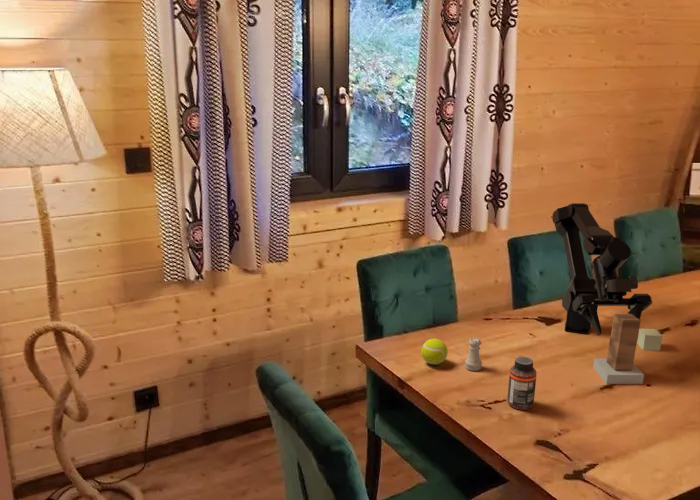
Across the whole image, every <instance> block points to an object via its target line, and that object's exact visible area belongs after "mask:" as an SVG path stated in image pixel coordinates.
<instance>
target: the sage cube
mask: <svg viewBox="0 0 700 500" xmlns="http://www.w3.org/2000/svg"><path fill="white" fill-rule="evenodd" d="M662 339H663V335H662V333H661V332H659V330H658V329H656V328H639V332H638V338H637V345H638V346H639V348H640V349H641V350H642V351H654V352H655V351H656V352H657V351H661V345H662Z"/></svg>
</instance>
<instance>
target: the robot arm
mask: <svg viewBox="0 0 700 500" xmlns="http://www.w3.org/2000/svg"><path fill="white" fill-rule="evenodd" d="M551 218H552V222H553V224H554V228H555V230H556V232H557V233H558V234H559V235H560V236H561V237H562V239H563V244H564V251H565V254H566V260H567V265H568V271H569V275H570V277H569V278H570V283H569V285H568V287H567V288H566V294H565V295H564V296H563V297H562V298H561V299H562V300H561V305H562V306H561V307H563V310H565V311H566V319H565V322H564V331H565V332H569V333H575V334H585V335H589V331H591V327H593V329H594V330H595V332H596V333H597V334H598V335H602V326H601V322H600V318H599V315H598V308H599V307H614V306H615V307H627V309H628V310H629V311H628V312H627V314H632V315H634V316H635V317H636V318H638V319H639V320H640V321H641V316H642V313H643V311H646V309H648V308H649V307H650V306H651V305H653V299H652V296H651V295H650V294H649V293H634V294H633V295H632V296H631V297H628V298H627V297H626V296H627V294H628V293H632V290H637V289H638V288H639V281H638V279H637V276H636V275H633V276H632V275H629V276H626V279H624V278H622V276H620V275H619V274H618V269H620V268H621V267H622V266H623V265H624V264H625V262H626V261H627V260H628V259H629V258H630V257H631V253H632V250H631V247H629V245H628V244H627V243H626V242H624V241H622V240H621V237H620V236H614V235H613V234H612V233H611V232H610V231H609V230H607V229H605V228H602V227H601V226H600V225H599V223H598V222H597V220H596V219H595V217H594V216H593V214H592V213H591V211H590V210H589V204H586V203H583V202H577V203H575V202H573V203H570V204H568V205H565V206H562V207H557V208H556V209H555V210H554V211H553V212H552V216H551ZM580 233H581V235H582V237H583V238H584V239H583V243H582V240H581V235H580ZM584 251H585V253H586V254H587V255H588V256H596V257H595V258H593V261H592V262H591V264H590V269H592V271H593V276H594V278H590V277H589V275H588V270H587V266H586V260H585V254H584ZM624 297H625V298H624Z"/></svg>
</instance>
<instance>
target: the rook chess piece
mask: <svg viewBox="0 0 700 500" xmlns="http://www.w3.org/2000/svg"><path fill="white" fill-rule="evenodd" d="M468 344H469V346H468V348H469V351H468V356H467V358H466V359H465V361H464V367H465V369H467V371H468V370H469V371H472V372H477V371H480V370H481V369H482V368H483V366H482V364H483V362H482V360H481V358H480V350H481V347H480V346H481V345H482V341H481V338H479V337H476V336H473V337H470V339H469V341H468Z"/></svg>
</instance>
